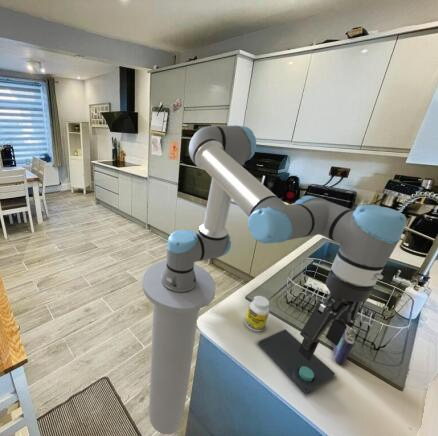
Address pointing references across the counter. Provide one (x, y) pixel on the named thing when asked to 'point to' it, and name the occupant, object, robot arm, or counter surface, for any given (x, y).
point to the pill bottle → (257, 313)
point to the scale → (295, 360)
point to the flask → (344, 346)
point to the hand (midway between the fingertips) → (318, 347)
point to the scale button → (306, 373)
